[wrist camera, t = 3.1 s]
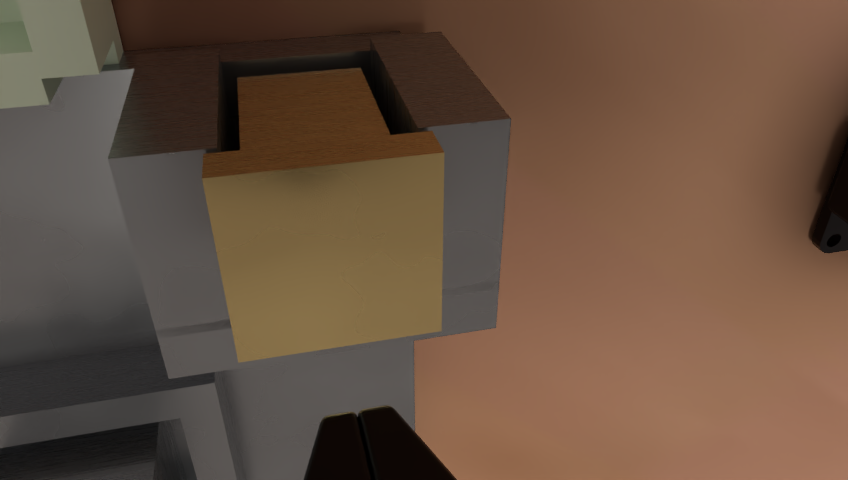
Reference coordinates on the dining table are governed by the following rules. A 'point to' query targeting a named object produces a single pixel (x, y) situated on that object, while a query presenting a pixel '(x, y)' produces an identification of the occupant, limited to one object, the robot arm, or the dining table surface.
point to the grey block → (99, 456)
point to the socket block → (209, 251)
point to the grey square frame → (52, 46)
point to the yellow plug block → (325, 218)
